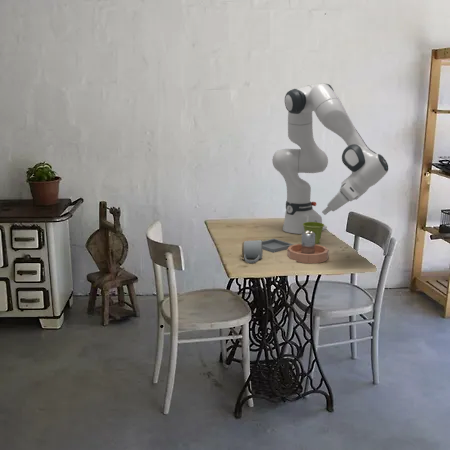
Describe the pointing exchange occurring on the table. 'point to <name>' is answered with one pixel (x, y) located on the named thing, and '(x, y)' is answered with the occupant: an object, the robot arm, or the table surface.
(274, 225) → the table surface
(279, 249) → the parts tray
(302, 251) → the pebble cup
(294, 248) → the terracotta bowl
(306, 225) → the plant pot
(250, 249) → the ceramic mug
